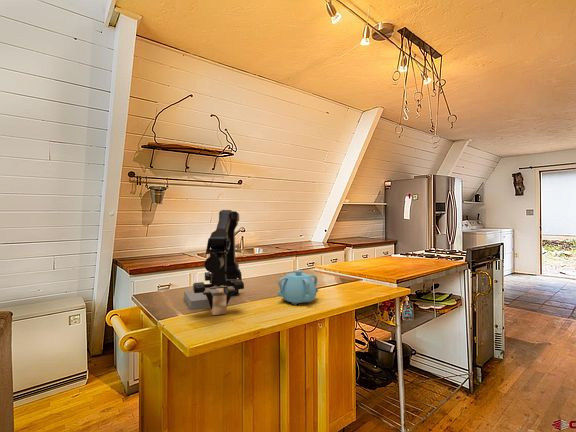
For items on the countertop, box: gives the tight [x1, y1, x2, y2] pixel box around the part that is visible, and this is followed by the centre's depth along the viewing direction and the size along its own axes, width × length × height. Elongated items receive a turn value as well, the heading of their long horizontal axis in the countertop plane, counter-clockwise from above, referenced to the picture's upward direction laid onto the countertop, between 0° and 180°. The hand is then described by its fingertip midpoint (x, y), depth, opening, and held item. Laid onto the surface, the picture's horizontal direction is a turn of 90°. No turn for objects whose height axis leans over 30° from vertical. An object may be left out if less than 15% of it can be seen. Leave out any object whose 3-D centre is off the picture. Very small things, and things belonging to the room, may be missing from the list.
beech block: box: [210, 291, 227, 316], centre depth 122 cm, size 5×5×7 cm
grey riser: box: [183, 288, 220, 311], centre depth 137 cm, size 14×18×4 cm
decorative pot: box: [277, 269, 319, 305], centre depth 140 cm, size 16×16×14 cm
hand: (218, 308), depth 122 cm, fingers closed on beech block, 5 cm apart
